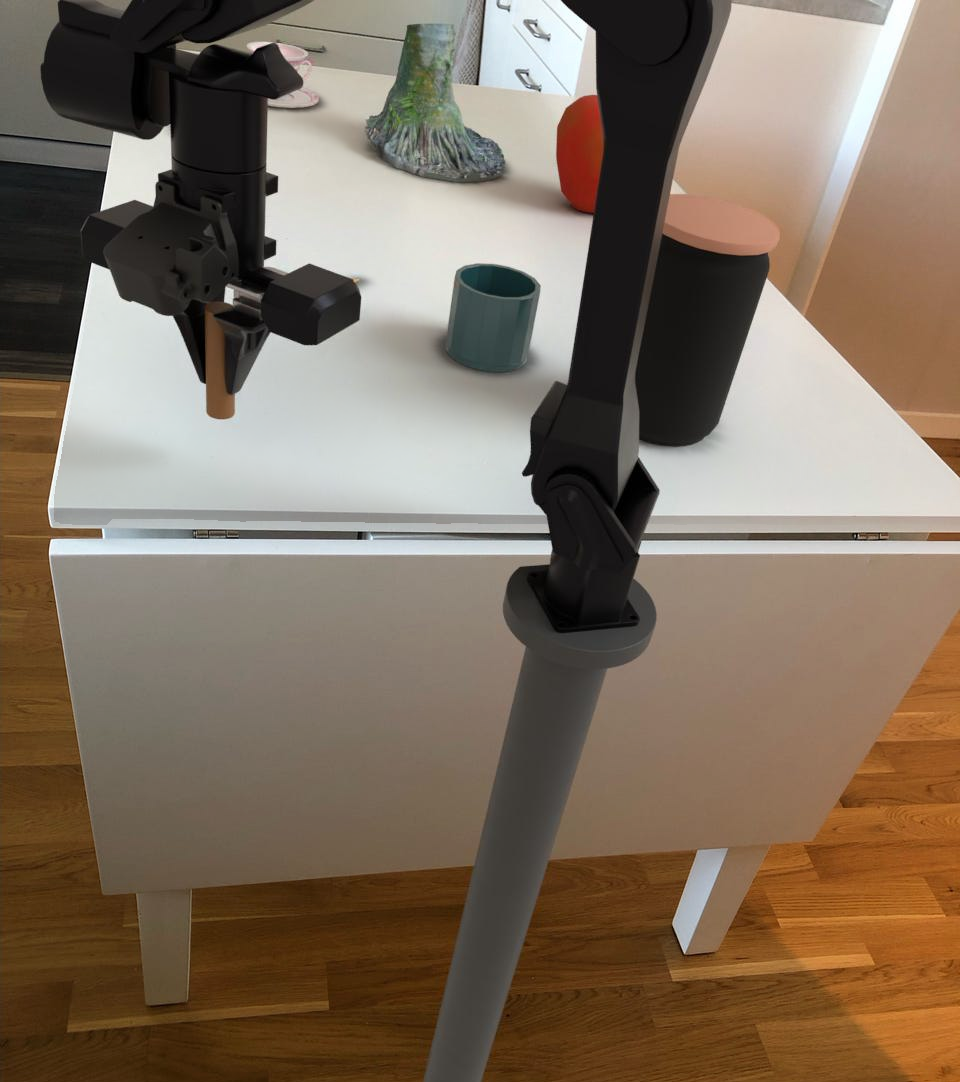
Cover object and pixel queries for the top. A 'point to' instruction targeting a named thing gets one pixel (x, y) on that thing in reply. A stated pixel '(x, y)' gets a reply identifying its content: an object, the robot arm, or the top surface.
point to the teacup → (296, 58)
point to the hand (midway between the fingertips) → (220, 387)
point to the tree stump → (430, 115)
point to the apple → (580, 152)
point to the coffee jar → (699, 315)
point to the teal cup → (492, 317)
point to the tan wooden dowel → (216, 366)
